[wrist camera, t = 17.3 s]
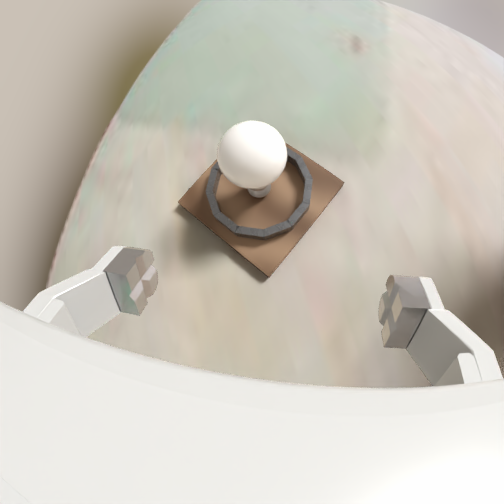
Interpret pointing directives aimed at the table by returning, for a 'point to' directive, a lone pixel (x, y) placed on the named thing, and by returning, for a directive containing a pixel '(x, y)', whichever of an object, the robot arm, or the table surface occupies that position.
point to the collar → (275, 229)
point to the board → (264, 210)
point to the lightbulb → (252, 156)
